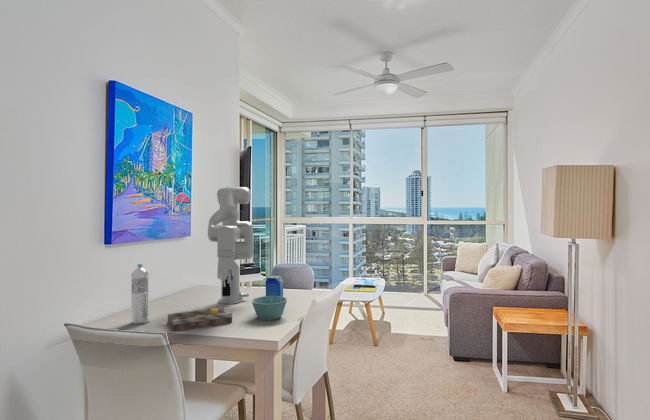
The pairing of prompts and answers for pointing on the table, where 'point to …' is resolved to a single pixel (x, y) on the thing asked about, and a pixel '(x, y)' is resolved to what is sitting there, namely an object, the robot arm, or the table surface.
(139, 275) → the water bottle
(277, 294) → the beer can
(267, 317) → the bowl
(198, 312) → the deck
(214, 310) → the ball
